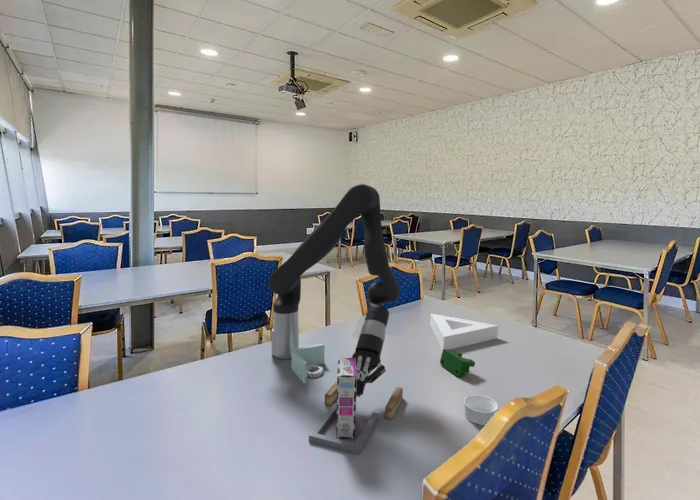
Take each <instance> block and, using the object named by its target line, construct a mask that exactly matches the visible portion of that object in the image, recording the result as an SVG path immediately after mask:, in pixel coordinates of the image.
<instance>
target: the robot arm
mask: <svg viewBox="0 0 700 500" xmlns="http://www.w3.org/2000/svg"><path fill="white" fill-rule="evenodd" d="M380 199H381V198H380V194H379V192H378V191H377V189H376V188H374V187H373V186H370V185H368V184H364V183H357V184H355V185H353V186H352V187H350V188H349V189H348V190H347V192H346V193H345V194H344V195H343V196H342V198H341V200H339V202H338V203H337V204H336V205H335V207H334V209H333V210H332V211H331V212H330V213H329V214H328V215H327V216H326V217H324V219H323V220H322V221H321V222H320V223H319V224H318V225H317V226H316V228H315V229H313V230H312V232H311V233H310V234H309V235H308V236H307V237H306V238H305V239H304V241H303V242H302V243H301V244H300V245H299V246H298V247H297V248H296V249H295V251H294V252H293V254H292V255H291V256H290V257H289V258H288V259H287V260H286V261H284V263H282V264H281V265H280V266H279V267H277V268H276V269H275V270H274V271H273V272H272V273H271V274H270V276H269V279H268V287H269V290H270V292H272V293H273V294H275V295H277V297H276V299H275V301H274V302H273V305H272V308H273V309H272V313H273V315H272V316H273V318H272V319H273V329H272V330H271V335H270V337H271V356H274V357H275V358H277V359H280V360H289V359H291V350H293V349H298V348H300V346H299V344H300V340H299V339H300V337H299V336H300V335H299V333H300V332H299V331H300V328H299V326H300V325H299V321H300V320H299V305H300V302H301V295H302V294H301V293H302V292H301V290H302V288H301V287H302V280H301V276H302V275H303V274H304V273H305V272H306V271H308V270H309V269H310V268H312V267H313V266H316V265H317V264H318V263H319V262H320V261H322V260H323V259H324V258H326V256H327V255H328V254H330V252H332V251H333V250H334V248H335V247H336V246H337V244H338V243H339V242H340V241H341V238H342V237H343V234H344V233H345V230H346V229H347V227H348V226H349V225H350V224H351V223H352V222H353V221H354V220H355V219H356V218H357V217H358V216H359V215H360V217H361V219H362V223H363V229H364V240H363V241H364V242H363V243H364V244H363V248H364V249H363V250H364V256H365V257H364V258H365V261H366V266H367V270H368V274H370V276H375V277H376V276H377V277H379V278H380V280H381V281H378V282H377V281H376V282H374V283H371V284H370V285H369V287H368V289H367V290H366V291H367V292H366V300H367V301H366V308H367V309H366V314H365V318H364V321H363V324H362V327H361V328H360V333H359V336H358V340H357V344H356V347H355V351H354V353H352V356H351V357H350V358H356V374H357V389H356V397H358V398H360V397H361V396H363V394H364V391H365V387H366V385H367V384H368V383H369V384H373V383H374V382H375V381H376V380H378V379H379V378H380V377H381V376H382V375H384V373H386V371H387V370H386V367H385V365H383V364H382V363H381V354H382V350H383V346H384V342H385V338H386V332H387V326H388V322H389V317H390V311H389V309H388V308H387V307H385V306H384V305H382V304H386V303H394V302H397V300H398V299H399V297H400V292H401V290H400V285H399V284H398V281H397V280H396V277H395V276H394V273H393V271H392V269H391V267H390V263H389V259H388V255H387V250H386V245H385V241H384V234H383V228H382V218H381V216H382V215H381V200H380Z"/></svg>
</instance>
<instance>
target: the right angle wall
mask: <svg viewBox="0 0 700 500" xmlns="http://www.w3.org/2000/svg"><path fill="white" fill-rule="evenodd" d="M290 359H291V364H290V365H291V370H292V371H293V373H294V374H295V375H296V376H297V377H298V379H299V380H300V381H301V382H302V383H303V385H305V384H307V381H308V378H310V379H312V378H313V379H314V378H315V379H316V378H317V377H318V378H320V377H322V375H323V374H324V367H322V366H321V365H323V364H325V343H321V344H320V343H319V344H315V345H314V344H313V345H310V346H304V347H303V346H302V347H299V348H298V349H293V350H291V358H290Z"/></svg>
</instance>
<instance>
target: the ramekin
mask: <svg viewBox="0 0 700 500" xmlns="http://www.w3.org/2000/svg"><path fill="white" fill-rule="evenodd" d="M463 405H464V415H465V418H466V420H468V421H469V422H470V421H471V422H470V423H472V422H473V423H472V424H474V423H476V424H475V425H477V424H479V425H478V426H483V427H484V426H485V424H487V422H488V421H489V419H490V418H491V417H492V416H493V415H494V413H495V412H496V411H497V412H498V410H499V404H498V403H497V402H496V400H494V399H493V398H491V397H489V396H486V395H482V394H472V395H467V396H466V397H465V398H463ZM485 427H486V426H485Z"/></svg>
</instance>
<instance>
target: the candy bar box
mask: <svg viewBox="0 0 700 500" xmlns="http://www.w3.org/2000/svg"><path fill="white" fill-rule="evenodd" d="M337 360H338V361H337V362H338V363H337V373H336V375H337V377H336V381H337V399H336V404H337V413H336V436H335V438H337V439H348V440H349V439H350V440H351V439H353V440H354V439H355V438H356V422H357V421H356V420H357V419H356V418H357V416H356V415H357V396H356V389H357V374H356V358H351V357H338V359H337Z"/></svg>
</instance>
